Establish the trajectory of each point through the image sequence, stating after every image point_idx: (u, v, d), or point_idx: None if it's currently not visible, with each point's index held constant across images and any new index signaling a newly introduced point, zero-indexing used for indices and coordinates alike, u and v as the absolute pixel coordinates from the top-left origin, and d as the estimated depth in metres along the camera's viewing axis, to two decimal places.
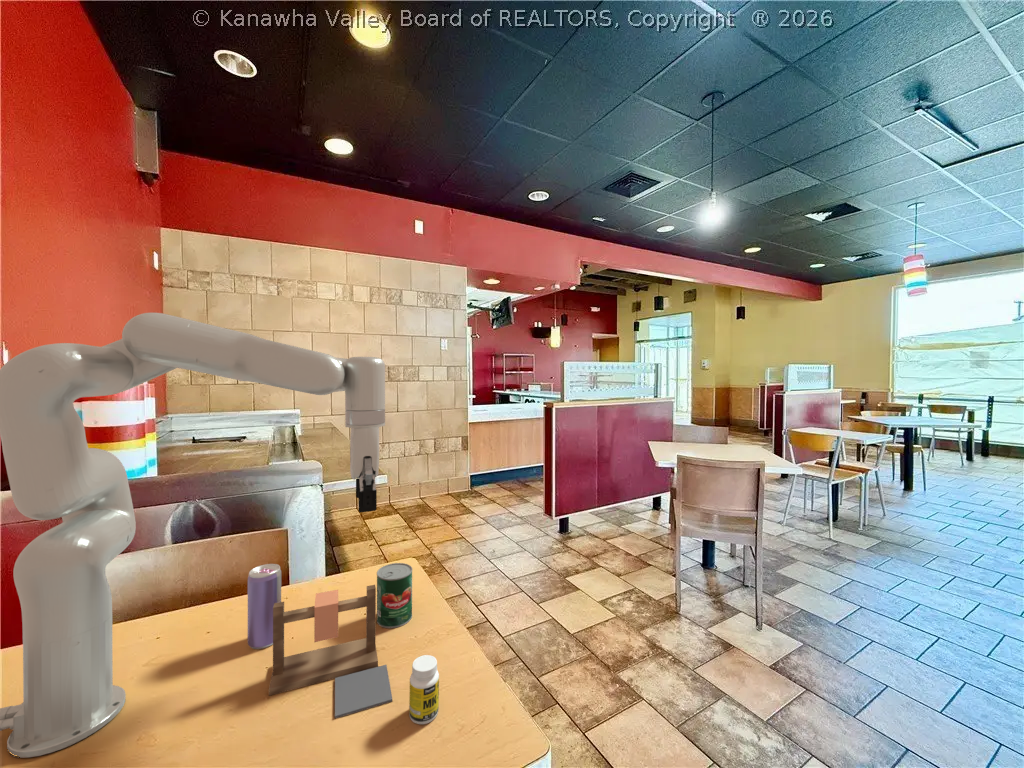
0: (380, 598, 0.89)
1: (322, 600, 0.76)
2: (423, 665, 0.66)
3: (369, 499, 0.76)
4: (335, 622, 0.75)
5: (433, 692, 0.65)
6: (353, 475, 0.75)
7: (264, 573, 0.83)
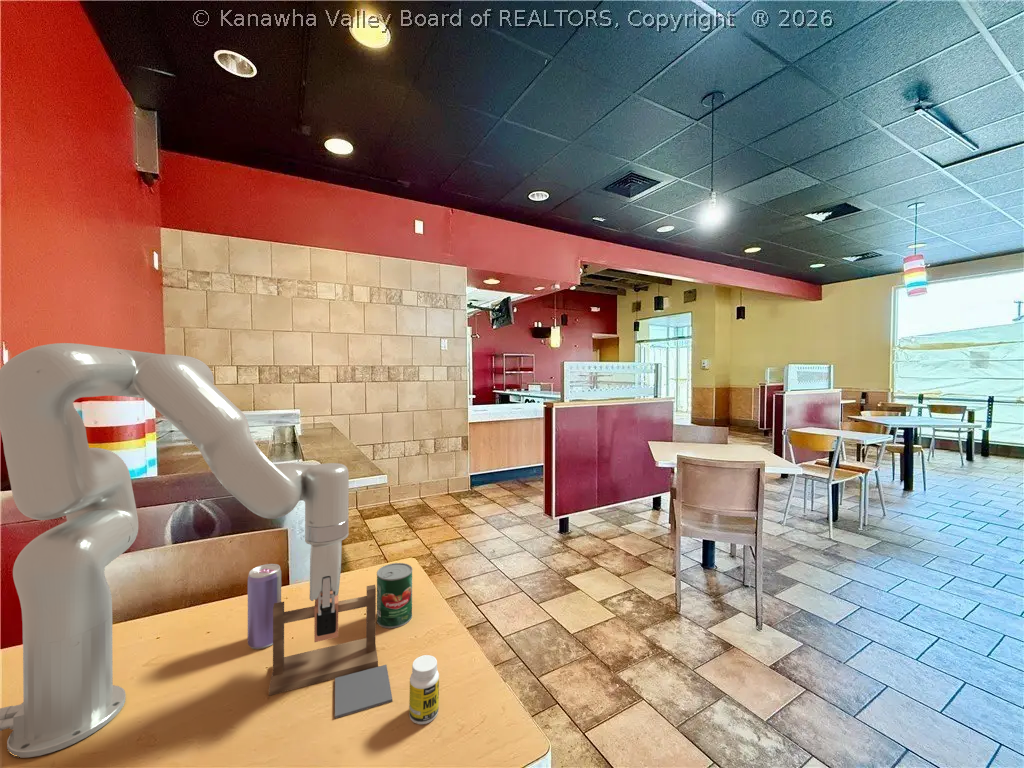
0: (380, 598, 0.89)
1: None
2: (423, 665, 0.66)
3: (327, 622, 0.73)
4: None
5: (433, 692, 0.65)
6: (311, 597, 0.71)
7: (264, 573, 0.83)
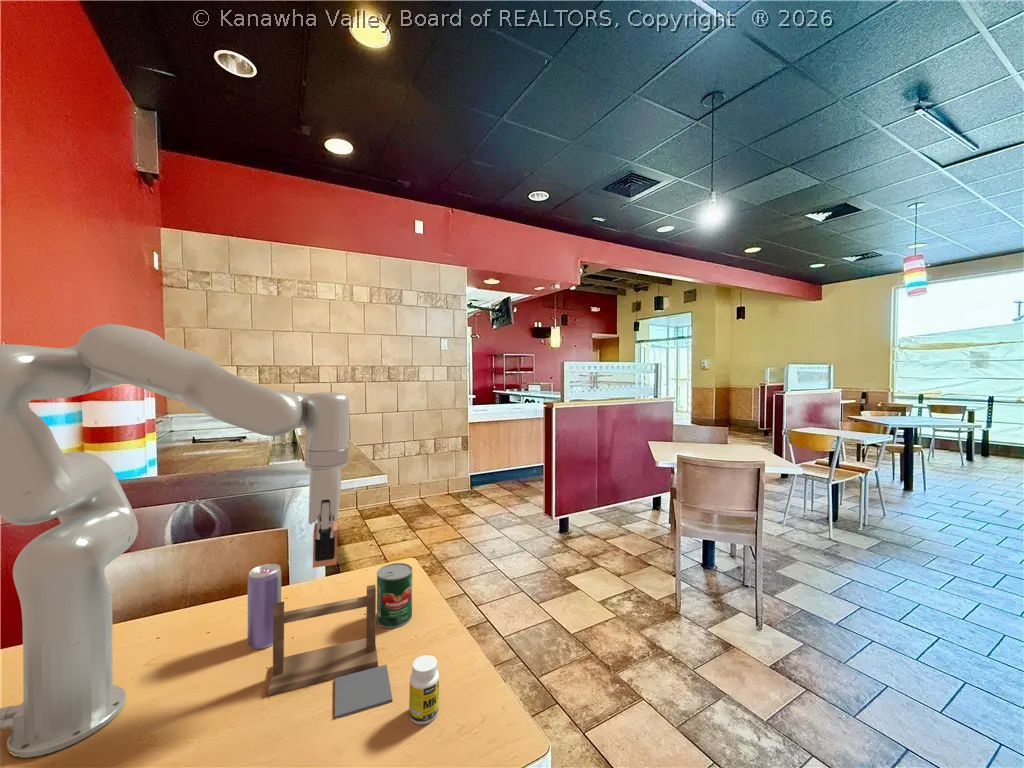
0: (381, 597, 0.89)
1: None
2: (424, 665, 0.66)
3: (326, 548, 0.73)
4: (334, 549, 0.75)
5: (433, 692, 0.65)
6: (310, 520, 0.71)
7: (264, 573, 0.83)
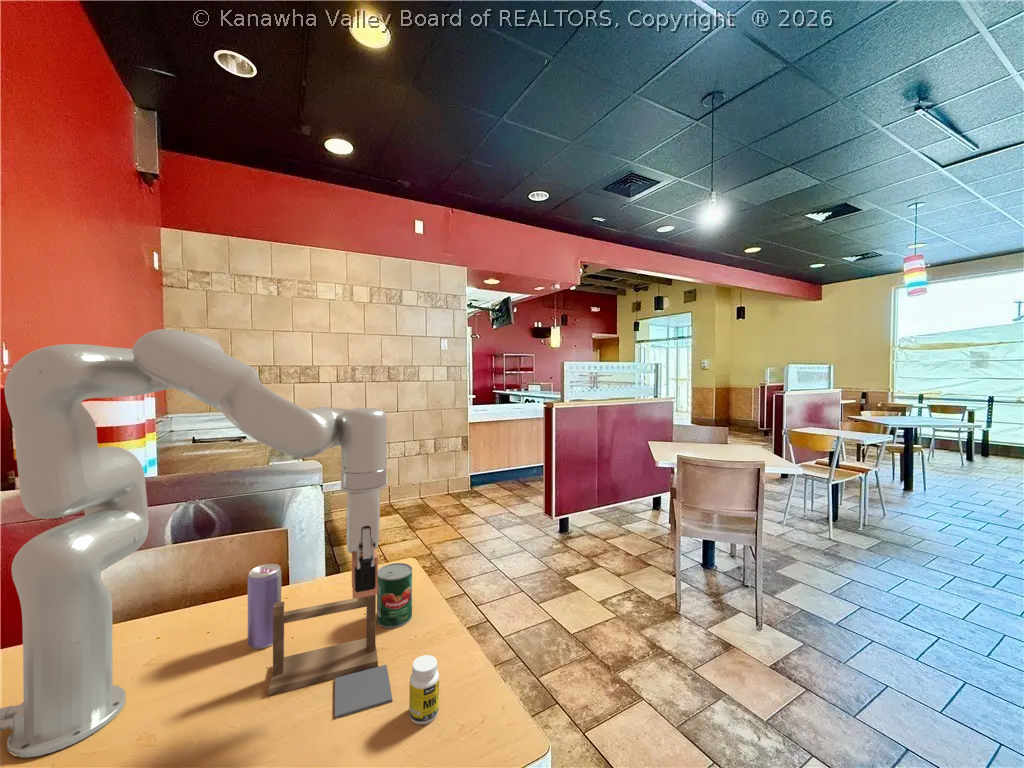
0: (380, 597, 0.89)
1: (360, 554, 0.70)
2: (424, 665, 0.66)
3: (367, 577, 0.67)
4: None
5: (433, 692, 0.65)
6: (349, 549, 0.65)
7: (264, 573, 0.83)
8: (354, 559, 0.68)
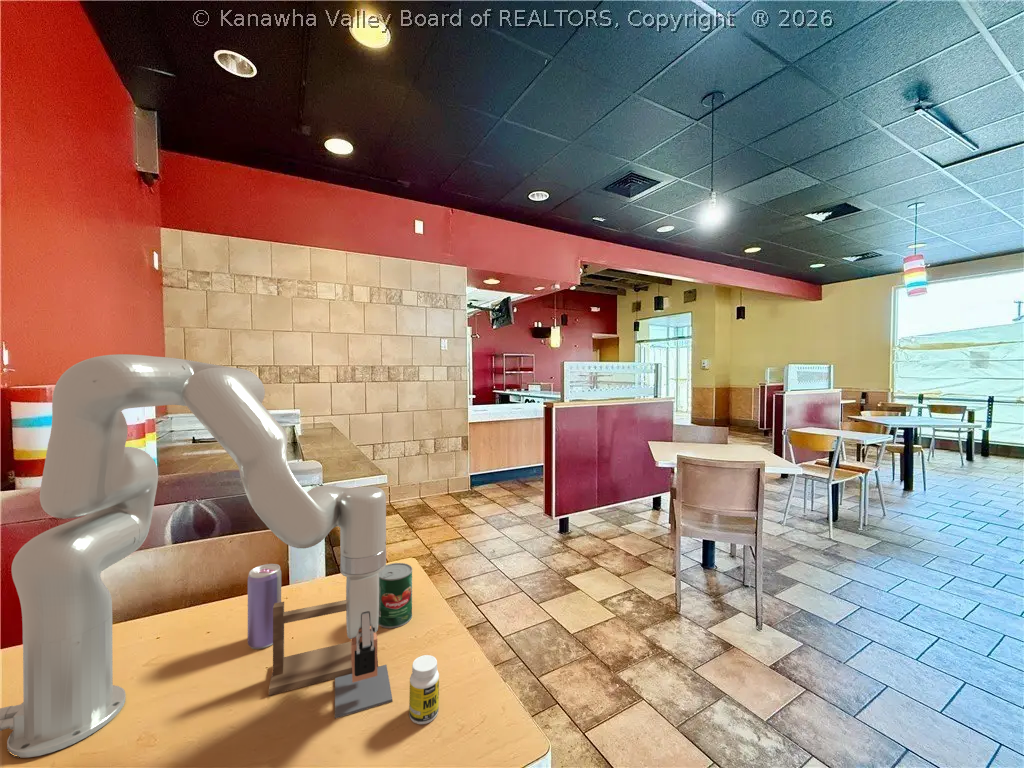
0: (380, 598, 0.89)
1: None
2: (423, 665, 0.66)
3: (366, 661, 0.68)
4: None
5: (433, 692, 0.65)
6: (349, 635, 0.66)
7: (264, 573, 0.83)
8: (354, 642, 0.69)
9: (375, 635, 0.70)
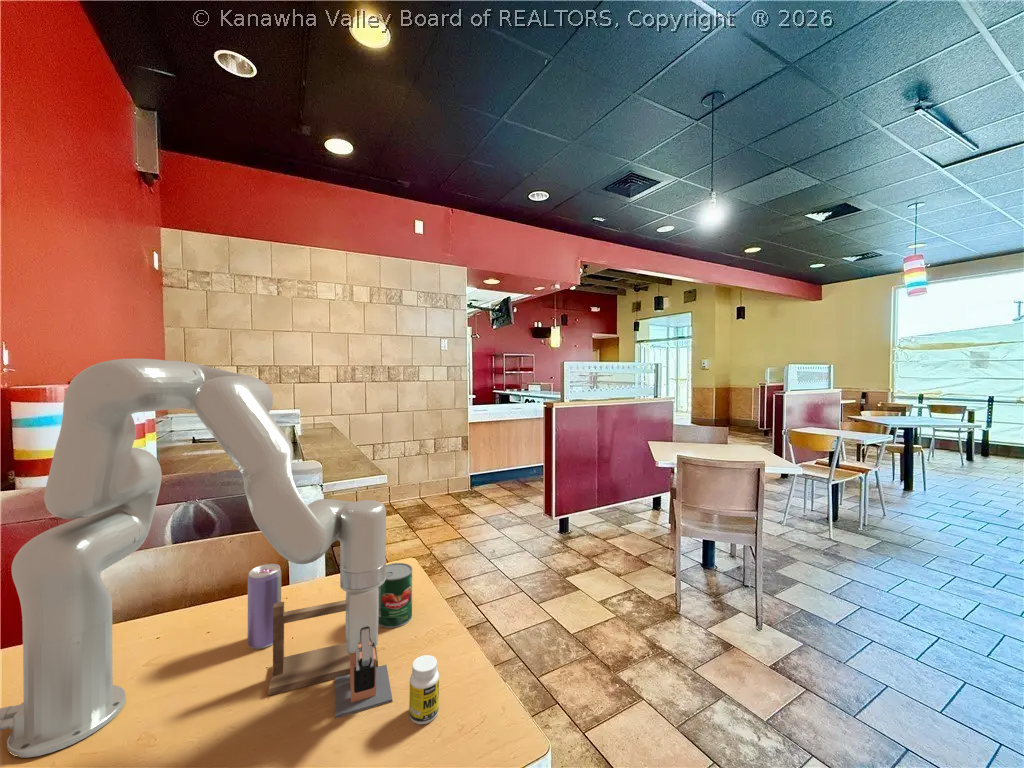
0: (381, 597, 0.89)
1: None
2: (424, 665, 0.66)
3: (366, 678, 0.67)
4: None
5: (433, 692, 0.65)
6: (348, 650, 0.66)
7: (264, 573, 0.83)
8: (352, 662, 0.69)
9: (374, 654, 0.70)
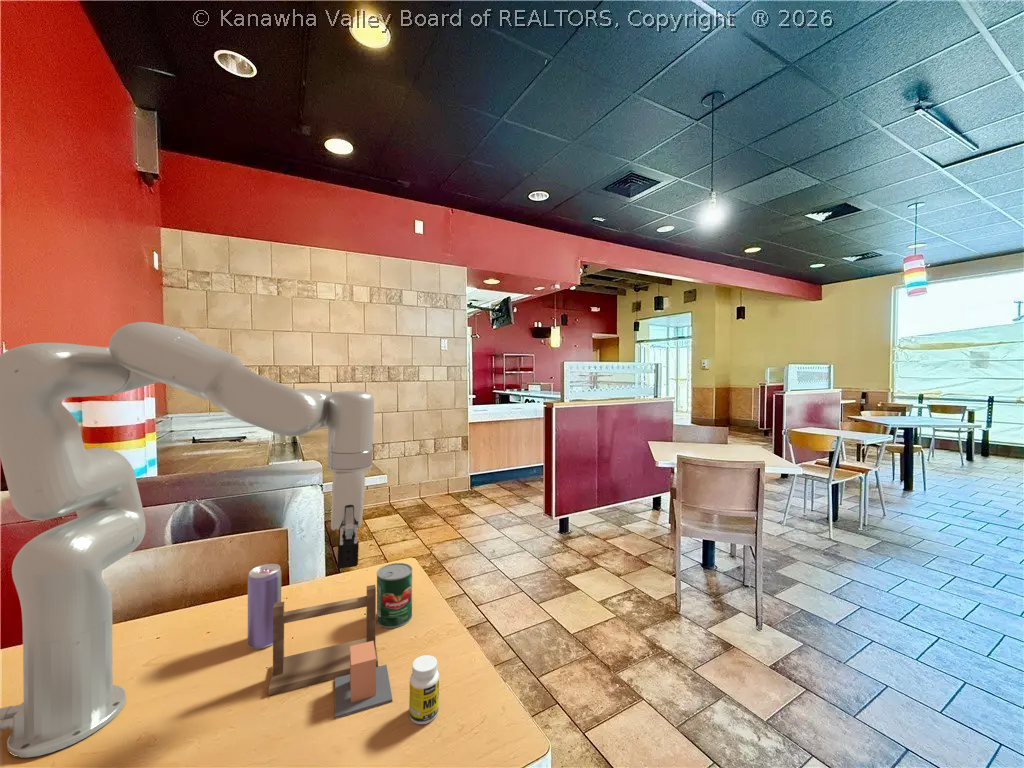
0: (380, 598, 0.89)
1: (358, 654, 0.70)
2: (423, 665, 0.66)
3: (349, 554, 0.67)
4: (373, 679, 0.69)
5: (433, 692, 0.65)
6: (332, 526, 0.67)
7: (264, 573, 0.83)
8: (352, 662, 0.69)
9: (374, 654, 0.70)
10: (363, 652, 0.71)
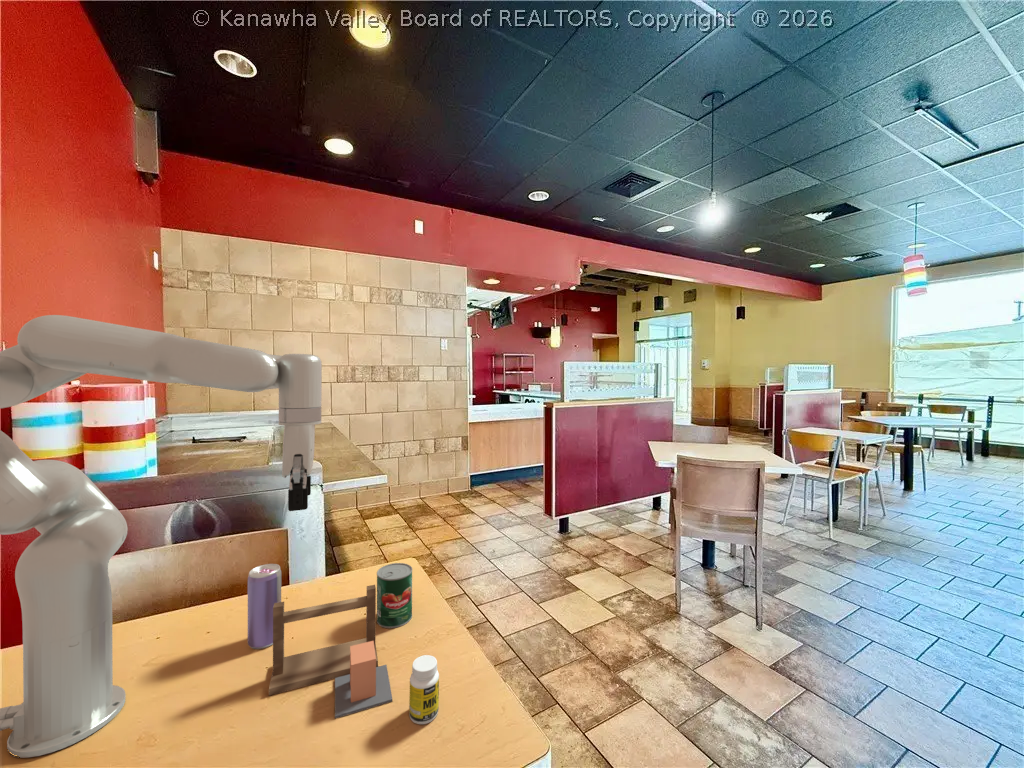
0: (380, 598, 0.89)
1: (358, 654, 0.70)
2: (423, 665, 0.66)
3: (299, 498, 0.75)
4: (373, 679, 0.69)
5: (433, 692, 0.65)
6: (283, 473, 0.75)
7: (264, 573, 0.83)
8: (352, 662, 0.69)
9: (374, 654, 0.70)
10: (363, 652, 0.71)
